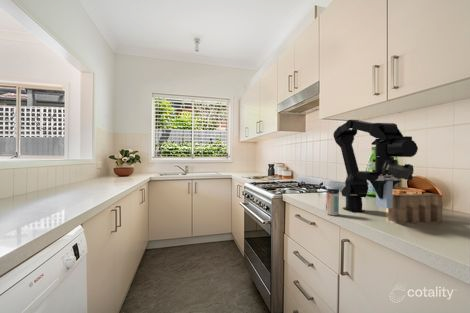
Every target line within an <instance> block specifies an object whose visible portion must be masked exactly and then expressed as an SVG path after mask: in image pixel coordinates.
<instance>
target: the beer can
mask: <svg viewBox="0 0 470 313" xmlns="http://www.w3.org/2000/svg"><path fill="white" fill-rule="evenodd" d="M325 190H326V191H325V202H326V203H325V213H326V214H327V215H329V216H334V217H335V216H338V215H339V214H340V213H339V208H340V206H339V204H340V202H339V201H340V198H339V195H340V189H339V186H338V185H334V184H332V185H331V184H328V185H327V186H326V188H325Z"/></svg>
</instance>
